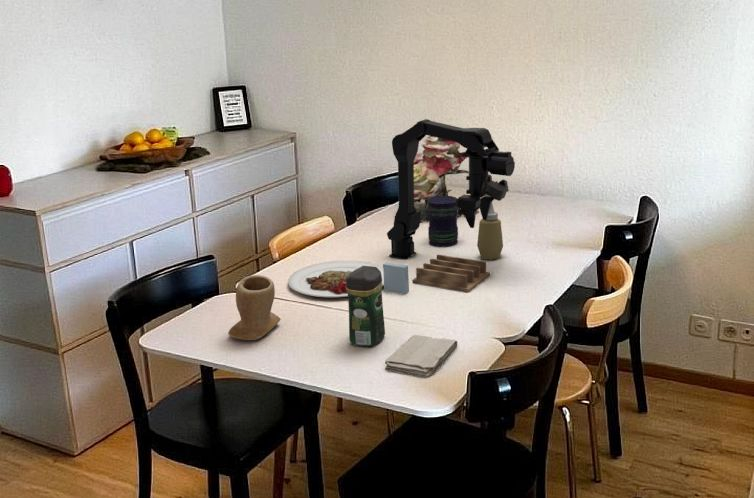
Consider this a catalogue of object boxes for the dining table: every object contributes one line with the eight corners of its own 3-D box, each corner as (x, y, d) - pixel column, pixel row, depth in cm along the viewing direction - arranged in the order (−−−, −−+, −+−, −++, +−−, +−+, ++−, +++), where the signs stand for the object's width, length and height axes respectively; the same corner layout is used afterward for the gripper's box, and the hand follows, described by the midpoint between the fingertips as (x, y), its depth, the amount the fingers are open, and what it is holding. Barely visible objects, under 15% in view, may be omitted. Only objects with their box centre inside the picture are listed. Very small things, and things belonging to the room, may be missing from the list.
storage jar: (443, 249, 274) (442, 205, 269) (422, 243, 281) (421, 199, 276) (464, 242, 280) (464, 198, 275) (443, 236, 287) (442, 193, 282)
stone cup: (263, 346, 208) (258, 290, 203) (222, 340, 213) (216, 285, 208) (293, 323, 221) (288, 269, 216) (254, 318, 226) (249, 265, 221)
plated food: (342, 259, 269) (342, 249, 268) (411, 280, 248) (410, 269, 247) (267, 285, 249) (266, 275, 248) (335, 310, 229) (334, 299, 228)
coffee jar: (360, 330, 215) (356, 261, 209) (388, 334, 212) (386, 264, 206) (344, 345, 206) (340, 274, 201) (374, 349, 204) (371, 278, 198)
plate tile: (384, 290, 241) (383, 264, 238) (387, 288, 243) (386, 262, 240) (405, 294, 237) (404, 267, 235) (409, 292, 239) (408, 265, 237)
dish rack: (412, 283, 246) (411, 268, 244) (436, 267, 258) (435, 253, 256) (468, 292, 236) (468, 277, 235) (490, 275, 248) (490, 261, 247)
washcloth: (382, 372, 193) (382, 360, 192) (413, 341, 209) (412, 329, 208) (430, 380, 188) (430, 368, 187) (458, 348, 204) (458, 336, 203)
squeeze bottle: (502, 261, 260) (502, 205, 254) (476, 260, 262) (475, 205, 256) (503, 253, 267) (504, 198, 262) (478, 252, 269) (478, 198, 263)
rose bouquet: (419, 201, 331) (417, 125, 322) (484, 210, 315) (484, 131, 305) (381, 217, 312) (377, 137, 302) (449, 228, 295) (447, 144, 286)
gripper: (491, 182, 233) (491, 235, 238) (516, 167, 249) (515, 218, 254) (455, 178, 239) (455, 231, 244) (481, 164, 254) (481, 214, 259)
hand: (478, 223), depth 250 cm, fingers open, 9 cm apart
